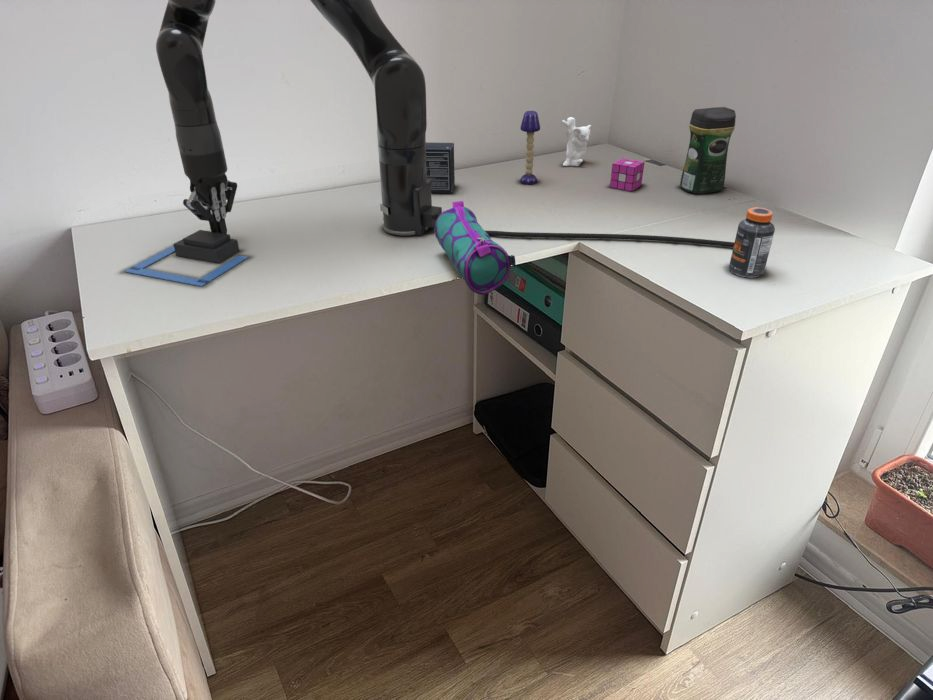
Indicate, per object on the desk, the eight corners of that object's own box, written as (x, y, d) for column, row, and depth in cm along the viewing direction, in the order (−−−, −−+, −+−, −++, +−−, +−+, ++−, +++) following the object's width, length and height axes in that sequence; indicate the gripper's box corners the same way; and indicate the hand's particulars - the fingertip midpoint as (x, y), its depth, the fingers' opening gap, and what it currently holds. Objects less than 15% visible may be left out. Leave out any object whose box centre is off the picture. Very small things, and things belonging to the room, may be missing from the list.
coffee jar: (708, 182, 162) (723, 102, 152) (728, 192, 155) (745, 110, 146) (673, 185, 160) (686, 105, 150) (691, 196, 153) (706, 112, 143)
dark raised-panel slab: (239, 251, 127) (236, 234, 125) (219, 263, 122) (215, 245, 120) (197, 244, 130) (193, 227, 128) (176, 255, 125) (171, 238, 123)
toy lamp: (538, 185, 160) (542, 114, 152) (518, 185, 160) (521, 114, 152) (536, 179, 164) (540, 109, 156) (517, 179, 164) (520, 109, 156)
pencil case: (515, 293, 111) (517, 239, 106) (464, 300, 109) (464, 246, 104) (477, 246, 128) (477, 198, 123) (432, 252, 126) (431, 203, 121)
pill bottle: (723, 265, 121) (736, 205, 115) (754, 263, 121) (769, 204, 115) (737, 279, 116) (751, 217, 110) (769, 277, 116) (786, 216, 110)
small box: (455, 185, 160) (455, 141, 155) (452, 194, 155) (451, 149, 149) (412, 184, 161) (410, 140, 156) (407, 192, 156) (405, 147, 150)
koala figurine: (561, 168, 172) (565, 121, 166) (554, 161, 178) (557, 115, 171) (592, 167, 173) (597, 119, 167) (584, 159, 179) (589, 113, 172)
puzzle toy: (619, 181, 163) (622, 158, 160) (641, 185, 160) (644, 161, 157) (609, 187, 159) (612, 163, 156) (631, 191, 156) (634, 167, 153)
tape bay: (248, 257, 124) (248, 256, 124) (201, 286, 114) (201, 285, 114) (175, 245, 129) (175, 244, 129) (124, 272, 119) (124, 271, 119)
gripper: (192, 159, 113) (214, 253, 122) (241, 140, 124) (257, 228, 133) (158, 155, 115) (181, 247, 125) (208, 137, 126) (226, 223, 135)
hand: (220, 237), depth 129 cm, fingers closed
